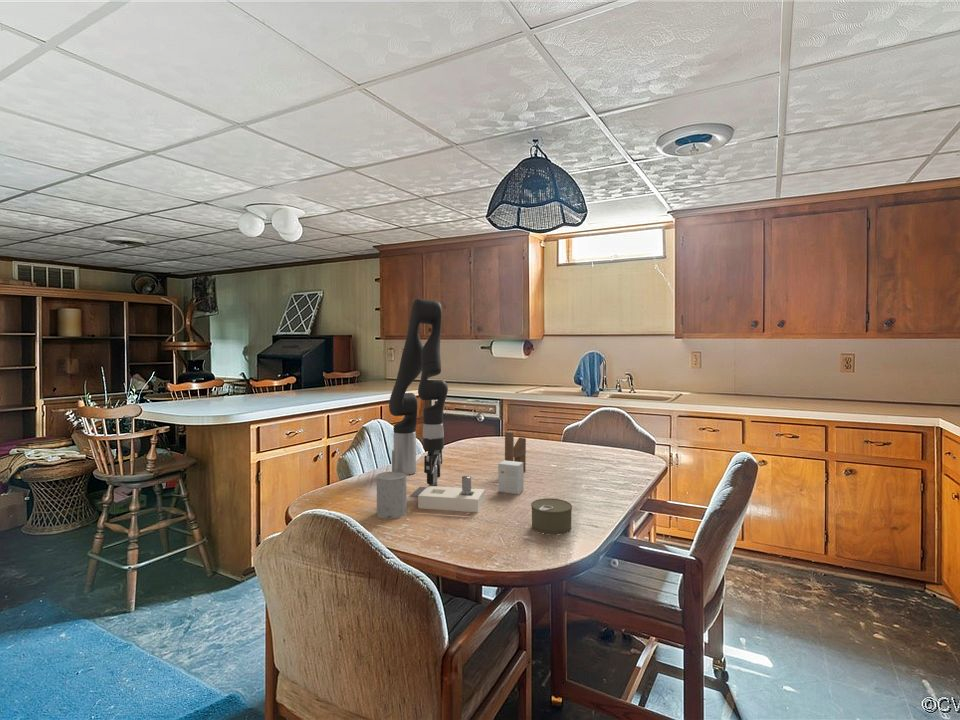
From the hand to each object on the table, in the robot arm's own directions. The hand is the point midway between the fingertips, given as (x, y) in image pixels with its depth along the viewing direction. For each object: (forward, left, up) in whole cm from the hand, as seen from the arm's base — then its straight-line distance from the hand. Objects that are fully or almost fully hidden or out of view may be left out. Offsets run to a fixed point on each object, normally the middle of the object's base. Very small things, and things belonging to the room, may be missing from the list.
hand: (433, 480), depth 178 cm
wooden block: (+25, +33, -5) cm, 42 cm away
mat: (0, 0, -5) cm, 5 cm away
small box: (+27, +9, -5) cm, 29 cm away
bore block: (+10, -11, -5) cm, 15 cm away
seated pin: (+15, -11, -5) cm, 19 cm away
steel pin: (0, 0, -4) cm, 4 cm away
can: (+43, -23, -5) cm, 50 cm away
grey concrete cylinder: (-7, -22, -5) cm, 24 cm away
